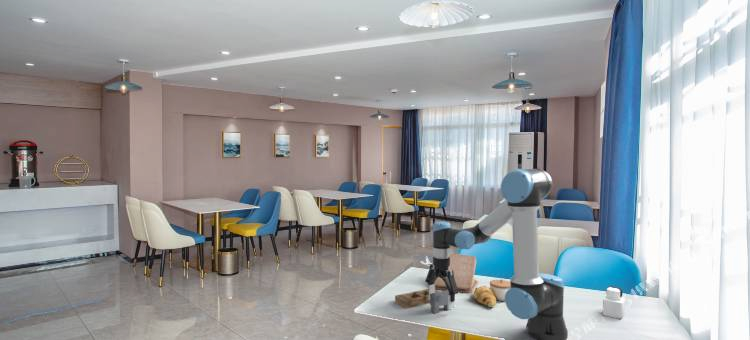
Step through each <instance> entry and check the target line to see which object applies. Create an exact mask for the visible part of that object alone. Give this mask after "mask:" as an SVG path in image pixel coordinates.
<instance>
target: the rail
mask: <svg viewBox="0 0 750 340" xmlns="http://www.w3.org/2000/svg"><path fill="white" fill-rule="evenodd" d="M437 292H441V291H440V290H439V289H435V293H437ZM394 302H395V303H396V304H398V306H401V307H402V308H404V309H409V308H413V307H419V306H422V305H426V304H430V299H429V288H426V289H420V290H416V291H411V292H405V293H402V294H396V295H394Z"/></svg>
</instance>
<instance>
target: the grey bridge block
mask: <svg viewBox="0 0 750 340" xmlns="http://www.w3.org/2000/svg"><path fill="white" fill-rule="evenodd" d="M448 294H449V291H448V290H442V291H440V292H437V293H432V294H430V303H429V306H430V312H431V313H433V314H435V315H436V314H439V313H440V307H442V306H443V310H444V311H452V309H448Z"/></svg>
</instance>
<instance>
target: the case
mask: <svg viewBox="0 0 750 340" xmlns="http://www.w3.org/2000/svg"><path fill="white" fill-rule="evenodd" d="M449 257H450V266H449V267H448V270H449V271H452V270H453V272H454V278H455V282H456V285H457V289H458V293H466V294H471V293H474V291H475V289H476V288H477V285H478V283H479V282H478V280H477V279H475V273H476V265H477V258H476V256H475V255H471V254H470V255H468V254H461V253H450V256H449ZM446 277H447V276H446ZM434 283H435V284H434V285H435V289H436V290H438V291H440V290H442V291H446V290H448V289H447V287H446V284H445V282H444V281H443V280H442V278H440V277H438V278H437V279H436V281H435V282H434Z"/></svg>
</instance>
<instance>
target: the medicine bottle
mask: <svg viewBox="0 0 750 340" xmlns="http://www.w3.org/2000/svg"><path fill="white" fill-rule="evenodd" d="M605 291H606V293H605V294H606V295H605V296H604V297H603V299H602V301H603V302H602V304H603V305H602V315H603V316H606V317H610V318H614V319H618V320H621V319H623V317H624V316H625V310H626V307H625V306H626V298H624V297H623V289H622V288H620V287H618V286H615V285H614V286H613V285H611V286H610V285H609V286H607V287H606V290H605Z"/></svg>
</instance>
